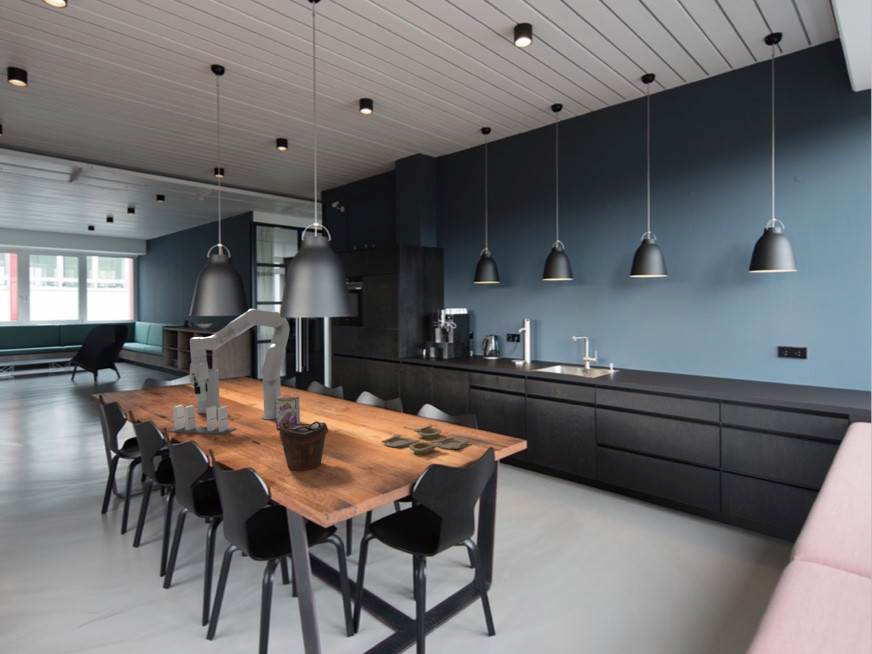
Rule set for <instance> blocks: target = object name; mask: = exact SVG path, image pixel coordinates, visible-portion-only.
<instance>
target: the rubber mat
mask: <svg viewBox="0 0 872 654" xmlns="http://www.w3.org/2000/svg"><path fill="white" fill-rule="evenodd" d="M235 430H237V427H236V428H235V427H228V430H225V431H223V432H219V431H218V426H217V429H215V430H213V431H207V426H195V428H194V429H191V430H185V428H182V429H179V430H174V428H172V429H169V430H167V433H184V434H205V435H206V434H207V435H209V434H210V435H227V434H228V433H231V432H233V431H235Z"/></svg>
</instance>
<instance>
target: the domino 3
mask: <svg viewBox="0 0 872 654" xmlns="http://www.w3.org/2000/svg"><path fill="white" fill-rule="evenodd" d="M196 381H197V380H196ZM196 383H197V382H196ZM199 386H200V391H201V393H200V394H196V402H197V401H198V402H200V401H204V400H207V399H206V387H205V380H202V381H200V383H199Z"/></svg>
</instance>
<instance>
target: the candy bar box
mask: <svg viewBox="0 0 872 654" xmlns="http://www.w3.org/2000/svg"><path fill="white" fill-rule="evenodd" d="M275 400H276V419H275V420H276V421H275V422H276V423H275V424H276V427H275V428H276V430H280V425H281V423H298V424H301V415H300V413H301V412H300V411H301V409H300V396H281V397H277V398H275Z"/></svg>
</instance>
